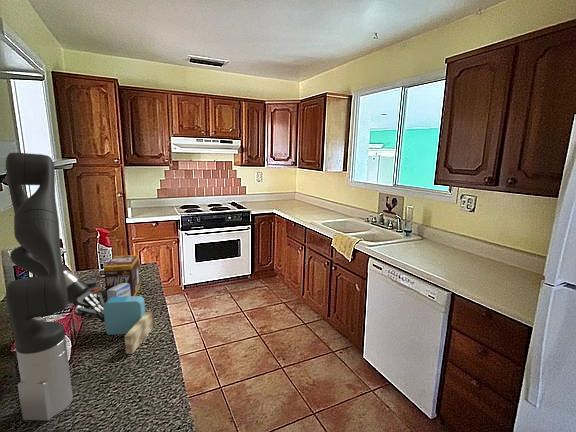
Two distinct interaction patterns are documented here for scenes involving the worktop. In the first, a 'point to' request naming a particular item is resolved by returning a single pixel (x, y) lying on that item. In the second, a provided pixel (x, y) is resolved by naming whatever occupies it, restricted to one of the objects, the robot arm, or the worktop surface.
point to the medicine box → (119, 291)
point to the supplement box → (123, 272)
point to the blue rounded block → (123, 313)
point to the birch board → (139, 332)
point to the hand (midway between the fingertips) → (107, 319)
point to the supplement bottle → (93, 286)
